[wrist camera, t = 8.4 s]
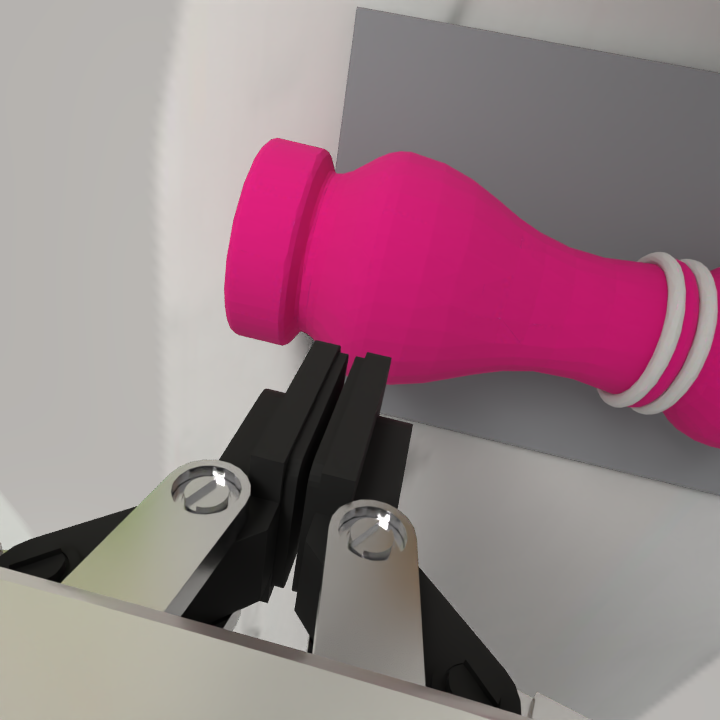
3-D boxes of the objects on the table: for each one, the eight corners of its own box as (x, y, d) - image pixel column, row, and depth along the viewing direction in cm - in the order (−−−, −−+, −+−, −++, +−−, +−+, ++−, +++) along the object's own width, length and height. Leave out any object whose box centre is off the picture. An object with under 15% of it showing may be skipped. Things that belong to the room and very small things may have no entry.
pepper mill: (249, 88, 14) (1056, 281, 14) (298, 144, 21) (829, 271, 21) (198, 368, 15) (927, 548, 15) (260, 331, 22) (756, 453, 22)
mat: (359, 7, 18) (357, 6, 18) (984, 121, 17) (998, 123, 16) (308, 389, 26) (305, 395, 25) (734, 492, 24) (739, 500, 24)
